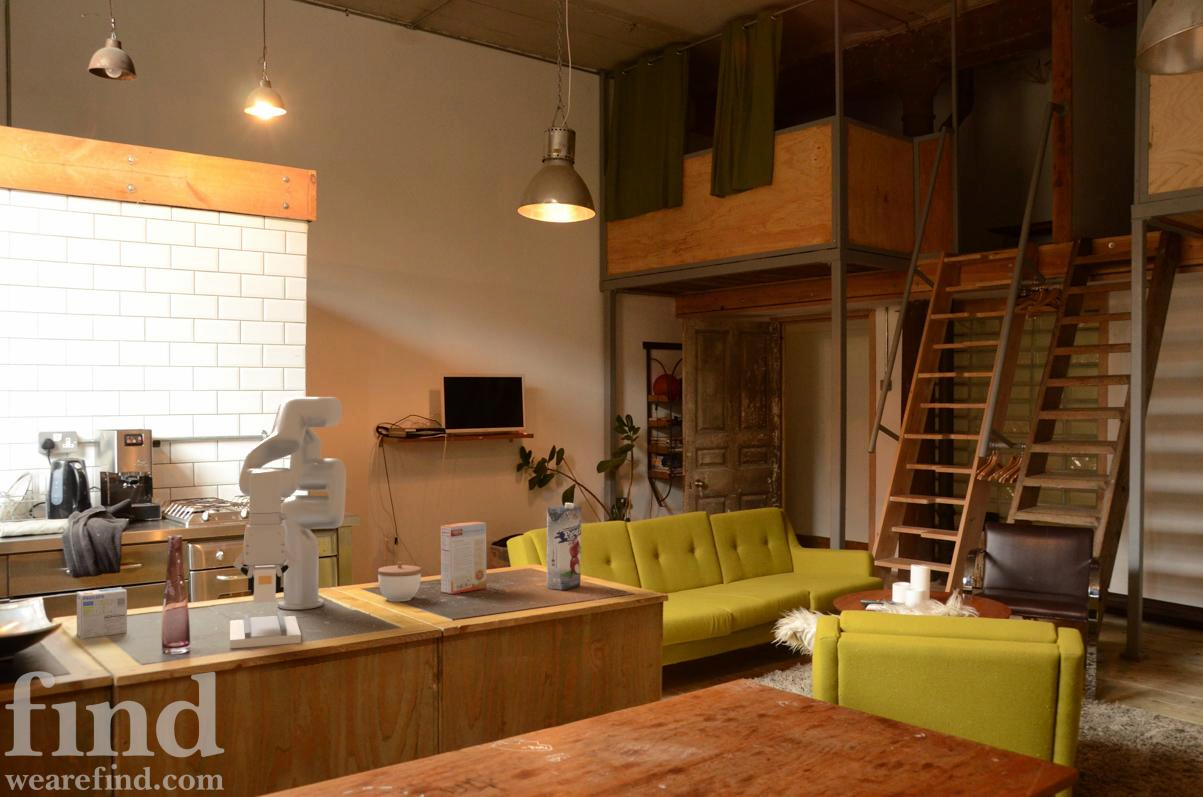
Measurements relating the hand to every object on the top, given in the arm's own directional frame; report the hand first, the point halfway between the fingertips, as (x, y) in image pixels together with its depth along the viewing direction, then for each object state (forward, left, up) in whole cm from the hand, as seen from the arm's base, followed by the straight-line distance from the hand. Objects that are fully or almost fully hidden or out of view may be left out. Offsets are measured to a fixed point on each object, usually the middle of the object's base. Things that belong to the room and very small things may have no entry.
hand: (264, 591), depth 238 cm
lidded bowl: (-34, +39, -11) cm, 53 cm away
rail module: (0, 0, -2) cm, 2 cm away
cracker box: (-41, +60, -11) cm, 74 cm away
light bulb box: (-16, -38, -11) cm, 43 cm away
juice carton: (-35, +91, -11) cm, 98 cm away
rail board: (0, 0, -11) cm, 11 cm away
